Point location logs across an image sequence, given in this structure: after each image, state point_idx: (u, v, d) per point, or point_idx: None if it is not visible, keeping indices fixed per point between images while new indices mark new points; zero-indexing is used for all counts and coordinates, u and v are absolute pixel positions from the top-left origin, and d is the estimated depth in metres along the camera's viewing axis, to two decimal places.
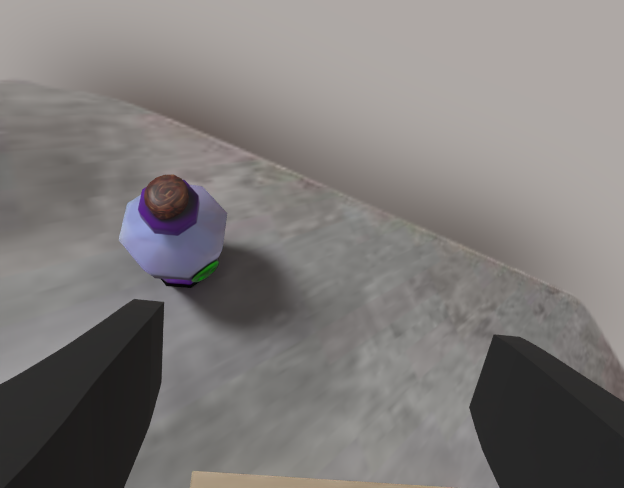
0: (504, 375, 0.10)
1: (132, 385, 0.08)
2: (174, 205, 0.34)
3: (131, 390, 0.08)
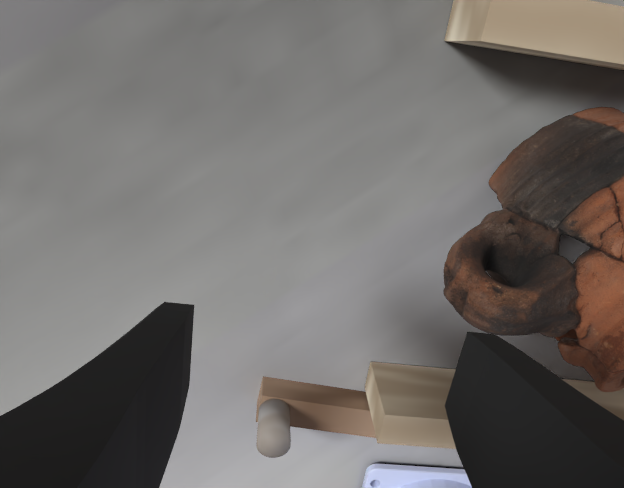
0: (476, 373, 0.10)
1: (168, 388, 0.08)
2: None
3: (167, 392, 0.08)
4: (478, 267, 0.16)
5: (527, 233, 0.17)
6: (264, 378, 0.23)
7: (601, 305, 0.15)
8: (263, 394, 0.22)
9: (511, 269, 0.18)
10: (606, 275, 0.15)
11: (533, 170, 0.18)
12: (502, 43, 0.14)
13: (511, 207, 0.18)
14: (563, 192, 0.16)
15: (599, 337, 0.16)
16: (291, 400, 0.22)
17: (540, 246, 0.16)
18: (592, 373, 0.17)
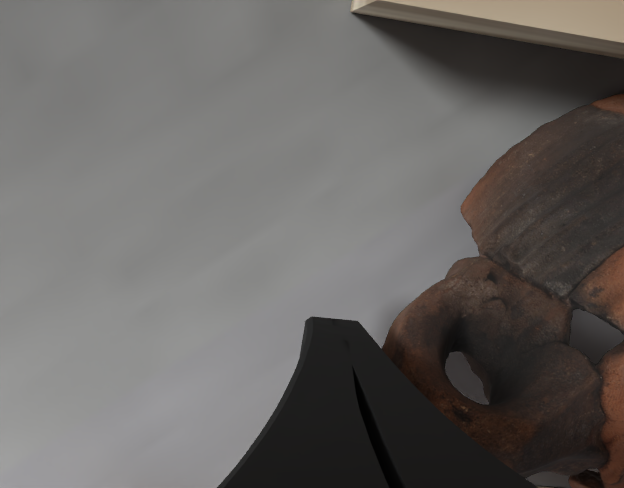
0: None
1: None
2: None
3: None
4: (432, 366, 0.09)
5: (517, 300, 0.10)
6: None
7: None
8: None
9: (492, 355, 0.11)
10: None
11: (527, 194, 0.11)
12: (417, 4, 0.08)
13: (492, 253, 0.11)
14: (578, 234, 0.10)
15: None
16: None
17: (539, 326, 0.10)
18: None
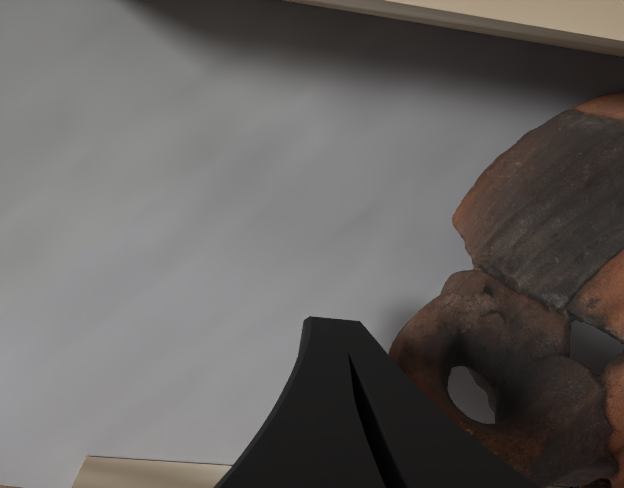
0: None
1: None
2: None
3: None
4: (434, 388, 0.09)
5: (515, 313, 0.10)
6: None
7: None
8: None
9: (494, 368, 0.11)
10: None
11: (517, 204, 0.11)
12: None
13: (487, 266, 0.11)
14: (571, 245, 0.10)
15: None
16: None
17: (538, 338, 0.10)
18: None
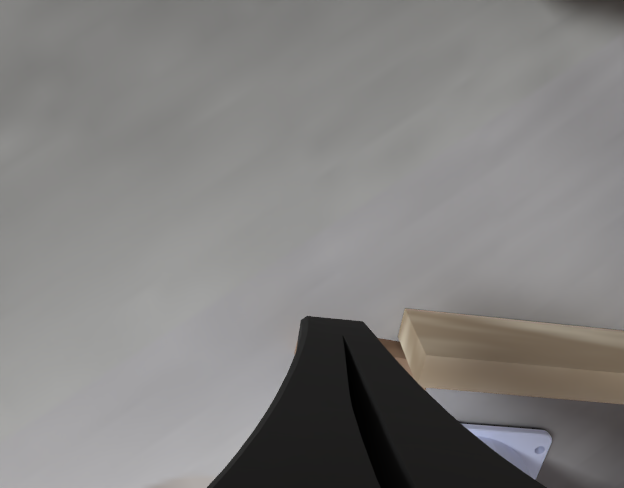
0: None
1: None
2: None
3: None
4: None
5: None
6: None
7: None
8: None
9: None
10: None
11: None
12: None
13: None
14: None
15: None
16: None
17: None
18: None
